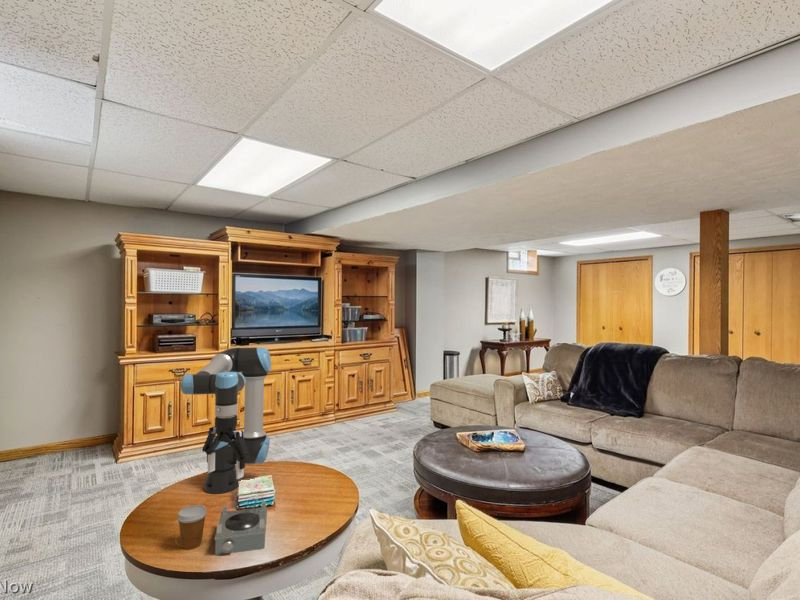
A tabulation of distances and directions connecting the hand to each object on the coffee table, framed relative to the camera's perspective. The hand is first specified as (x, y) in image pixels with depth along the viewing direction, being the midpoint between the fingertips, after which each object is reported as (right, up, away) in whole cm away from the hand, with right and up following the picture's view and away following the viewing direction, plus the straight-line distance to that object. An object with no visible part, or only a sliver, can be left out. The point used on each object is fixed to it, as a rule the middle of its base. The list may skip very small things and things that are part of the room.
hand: (225, 474), depth 154 cm
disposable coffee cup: (-11, -24, -2) cm, 27 cm away
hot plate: (+5, -24, +2) cm, 25 cm away
